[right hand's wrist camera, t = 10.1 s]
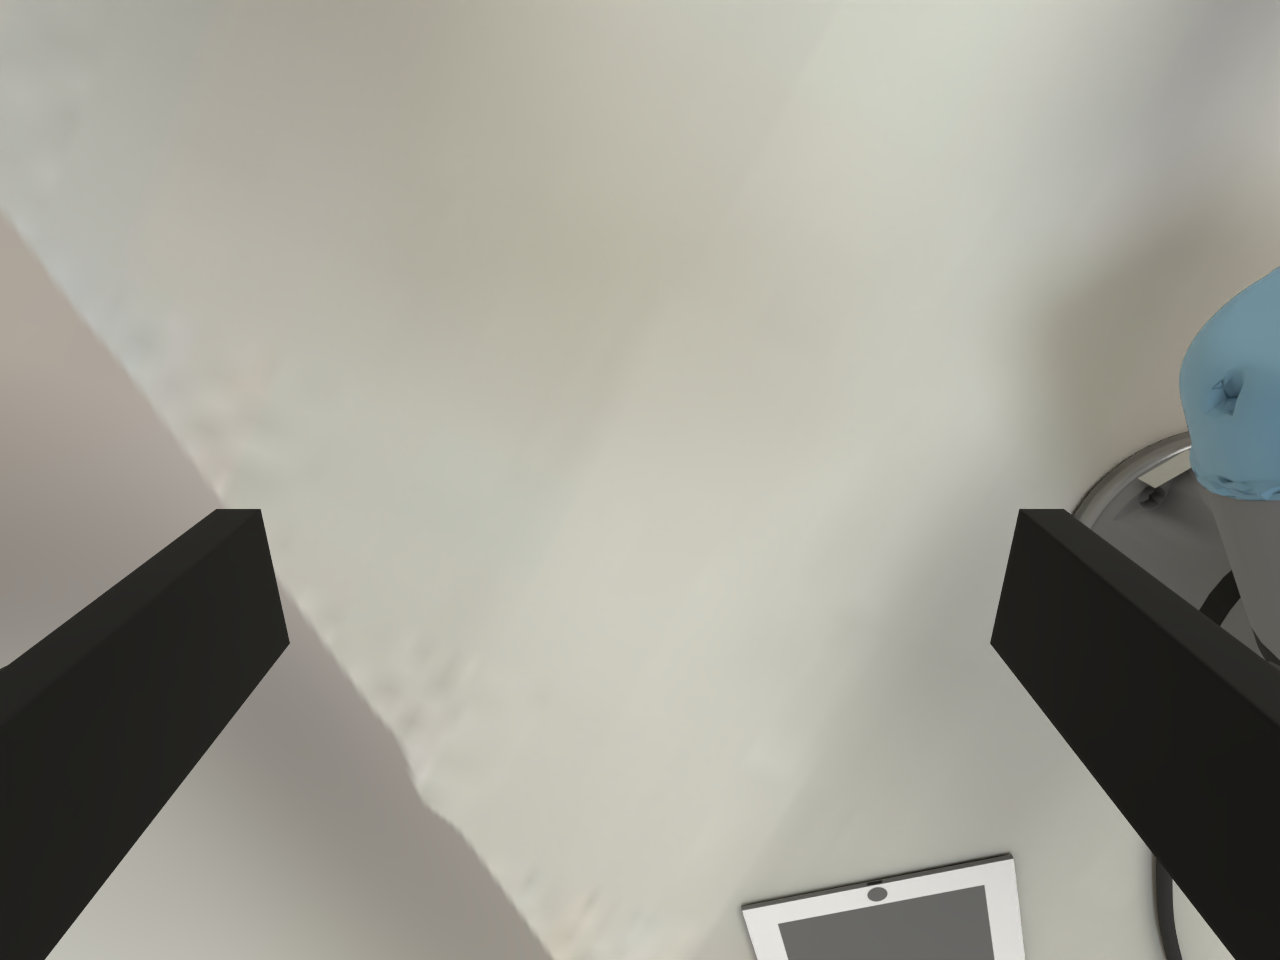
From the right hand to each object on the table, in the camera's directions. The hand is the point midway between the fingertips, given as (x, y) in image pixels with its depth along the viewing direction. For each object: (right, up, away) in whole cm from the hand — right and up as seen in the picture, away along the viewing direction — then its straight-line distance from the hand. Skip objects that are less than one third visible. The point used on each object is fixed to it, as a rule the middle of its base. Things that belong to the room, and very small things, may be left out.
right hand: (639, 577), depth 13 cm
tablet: (+22, -42, +46) cm, 66 cm away
